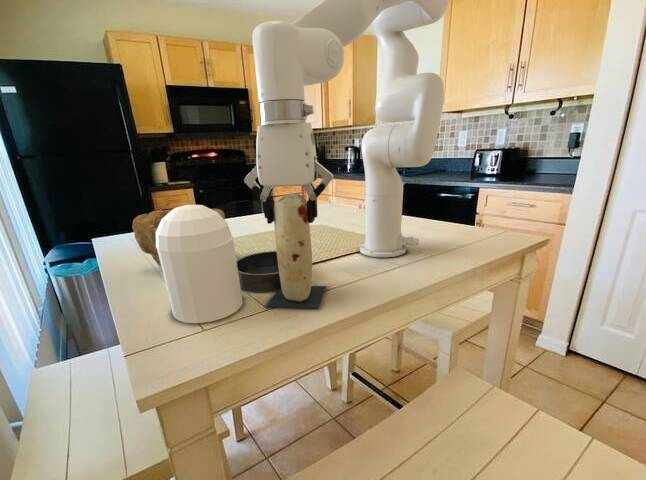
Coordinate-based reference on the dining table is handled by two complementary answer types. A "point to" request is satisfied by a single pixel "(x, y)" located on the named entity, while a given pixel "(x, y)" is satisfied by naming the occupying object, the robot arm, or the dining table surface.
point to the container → (198, 264)
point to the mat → (309, 303)
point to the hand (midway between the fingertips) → (291, 221)
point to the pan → (259, 272)
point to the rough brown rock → (152, 231)
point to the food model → (293, 246)
